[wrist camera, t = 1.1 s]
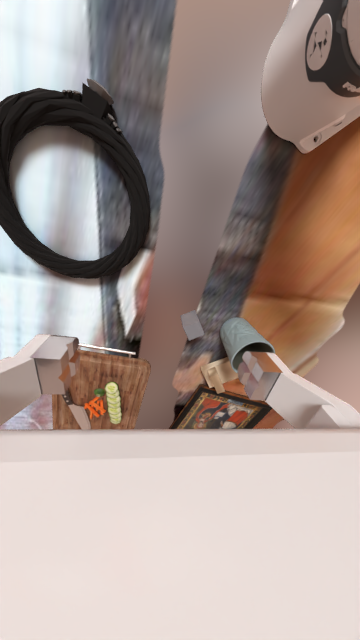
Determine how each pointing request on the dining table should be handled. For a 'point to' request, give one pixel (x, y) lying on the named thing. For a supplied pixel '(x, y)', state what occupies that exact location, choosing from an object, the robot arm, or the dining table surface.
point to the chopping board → (102, 392)
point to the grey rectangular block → (192, 325)
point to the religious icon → (220, 411)
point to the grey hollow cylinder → (242, 340)
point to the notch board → (219, 374)
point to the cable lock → (96, 122)
